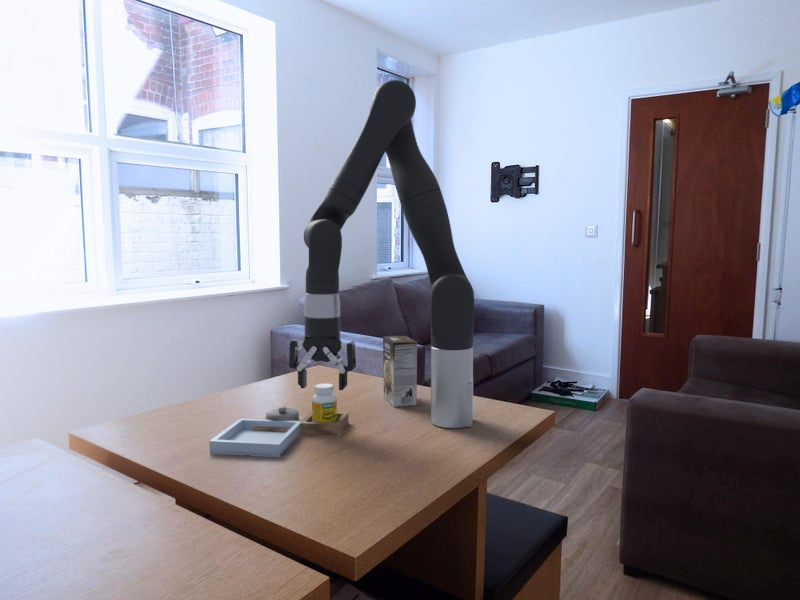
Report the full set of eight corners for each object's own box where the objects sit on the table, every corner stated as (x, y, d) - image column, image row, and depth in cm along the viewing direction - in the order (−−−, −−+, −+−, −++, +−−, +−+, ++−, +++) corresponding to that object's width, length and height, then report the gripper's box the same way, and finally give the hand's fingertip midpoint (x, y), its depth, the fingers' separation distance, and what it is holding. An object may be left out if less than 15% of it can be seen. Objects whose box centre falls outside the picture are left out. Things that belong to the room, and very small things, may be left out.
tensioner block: (349, 422, 129) (349, 403, 129) (338, 437, 119) (337, 416, 119) (269, 418, 132) (268, 400, 131) (252, 433, 122) (251, 413, 122)
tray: (302, 432, 122) (302, 421, 122) (279, 457, 109) (279, 444, 108) (240, 429, 125) (240, 418, 124) (209, 453, 111) (209, 441, 110)
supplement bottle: (327, 423, 129) (326, 381, 128) (342, 428, 125) (341, 385, 124) (307, 428, 125) (306, 385, 124) (322, 434, 121) (321, 390, 120)
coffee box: (382, 397, 149) (382, 336, 147) (406, 395, 151) (406, 334, 149) (392, 407, 140) (392, 342, 138) (417, 405, 142) (417, 340, 140)
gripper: (359, 313, 125) (358, 385, 127) (296, 310, 127) (296, 382, 129) (350, 317, 118) (350, 395, 119) (284, 315, 120) (284, 391, 122)
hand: (322, 388), depth 124 cm, fingers open, 8 cm apart
